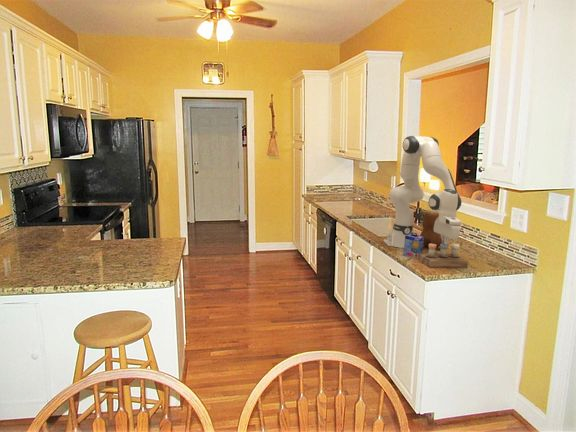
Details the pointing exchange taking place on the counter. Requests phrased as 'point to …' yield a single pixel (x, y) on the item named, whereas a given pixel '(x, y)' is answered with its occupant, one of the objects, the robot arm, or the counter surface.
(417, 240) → the ink cartridge box
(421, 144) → the robot arm
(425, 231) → the brown rounded block
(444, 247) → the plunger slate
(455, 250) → the plunger cream
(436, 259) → the wooden board with holes
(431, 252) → the plunger terracotta
